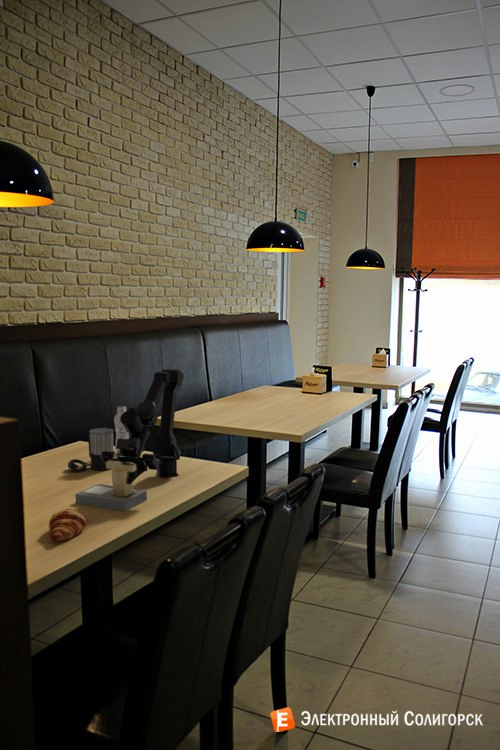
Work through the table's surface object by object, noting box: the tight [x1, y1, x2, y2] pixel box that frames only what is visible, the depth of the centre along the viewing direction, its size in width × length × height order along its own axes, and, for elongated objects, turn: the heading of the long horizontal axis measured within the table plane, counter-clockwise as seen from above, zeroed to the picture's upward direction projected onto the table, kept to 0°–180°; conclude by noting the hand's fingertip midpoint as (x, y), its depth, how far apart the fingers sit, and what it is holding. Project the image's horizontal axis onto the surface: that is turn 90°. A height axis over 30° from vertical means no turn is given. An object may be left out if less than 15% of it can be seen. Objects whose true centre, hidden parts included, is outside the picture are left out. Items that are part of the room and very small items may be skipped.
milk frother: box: [67, 427, 115, 472], centre depth 246 cm, size 14×16×15 cm
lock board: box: [75, 483, 148, 512], centre depth 208 cm, size 19×12×3 cm, turn 65°
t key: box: [106, 460, 136, 498], centre depth 205 cm, size 4×10×14 cm, turn 66°
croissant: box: [48, 508, 87, 542], centre depth 182 cm, size 21×10×8 cm, turn 0°
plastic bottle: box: [113, 405, 130, 456], centre depth 268 cm, size 6×7×20 cm
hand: (121, 483), depth 204 cm, fingers closed on t key, 5 cm apart
